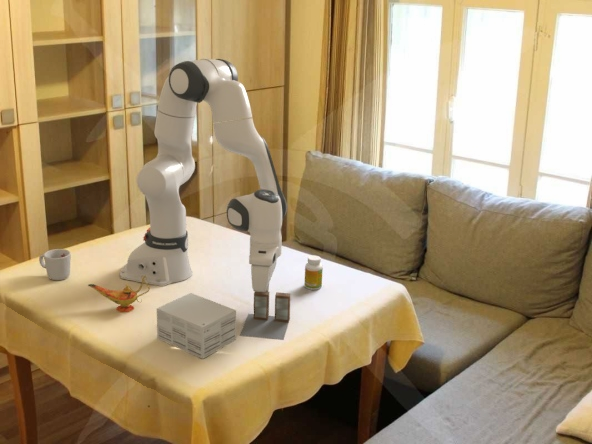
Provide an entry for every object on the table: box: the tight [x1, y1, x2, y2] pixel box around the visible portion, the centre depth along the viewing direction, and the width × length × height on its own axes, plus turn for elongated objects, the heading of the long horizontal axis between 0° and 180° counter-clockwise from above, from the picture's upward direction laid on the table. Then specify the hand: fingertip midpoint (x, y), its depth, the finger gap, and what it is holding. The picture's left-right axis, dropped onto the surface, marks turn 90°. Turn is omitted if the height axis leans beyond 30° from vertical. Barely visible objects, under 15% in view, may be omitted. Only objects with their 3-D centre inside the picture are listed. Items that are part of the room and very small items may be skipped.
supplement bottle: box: [304, 255, 324, 291], centre depth 233 cm, size 5×5×10 cm
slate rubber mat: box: [239, 313, 290, 341], centre depth 208 cm, size 12×13×1 cm
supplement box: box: [156, 292, 237, 360], centre depth 199 cm, size 17×13×9 cm
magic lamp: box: [87, 275, 151, 314], centre depth 214 cm, size 7×18×11 cm, turn 85°
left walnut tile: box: [253, 291, 270, 321], centre depth 211 cm, size 4×2×8 cm, turn 83°
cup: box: [39, 248, 72, 281], centre depth 233 cm, size 11×8×8 cm
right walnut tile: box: [274, 292, 292, 323], centre depth 210 cm, size 4×2×8 cm, turn 83°
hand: (264, 293), depth 214 cm, fingers closed
